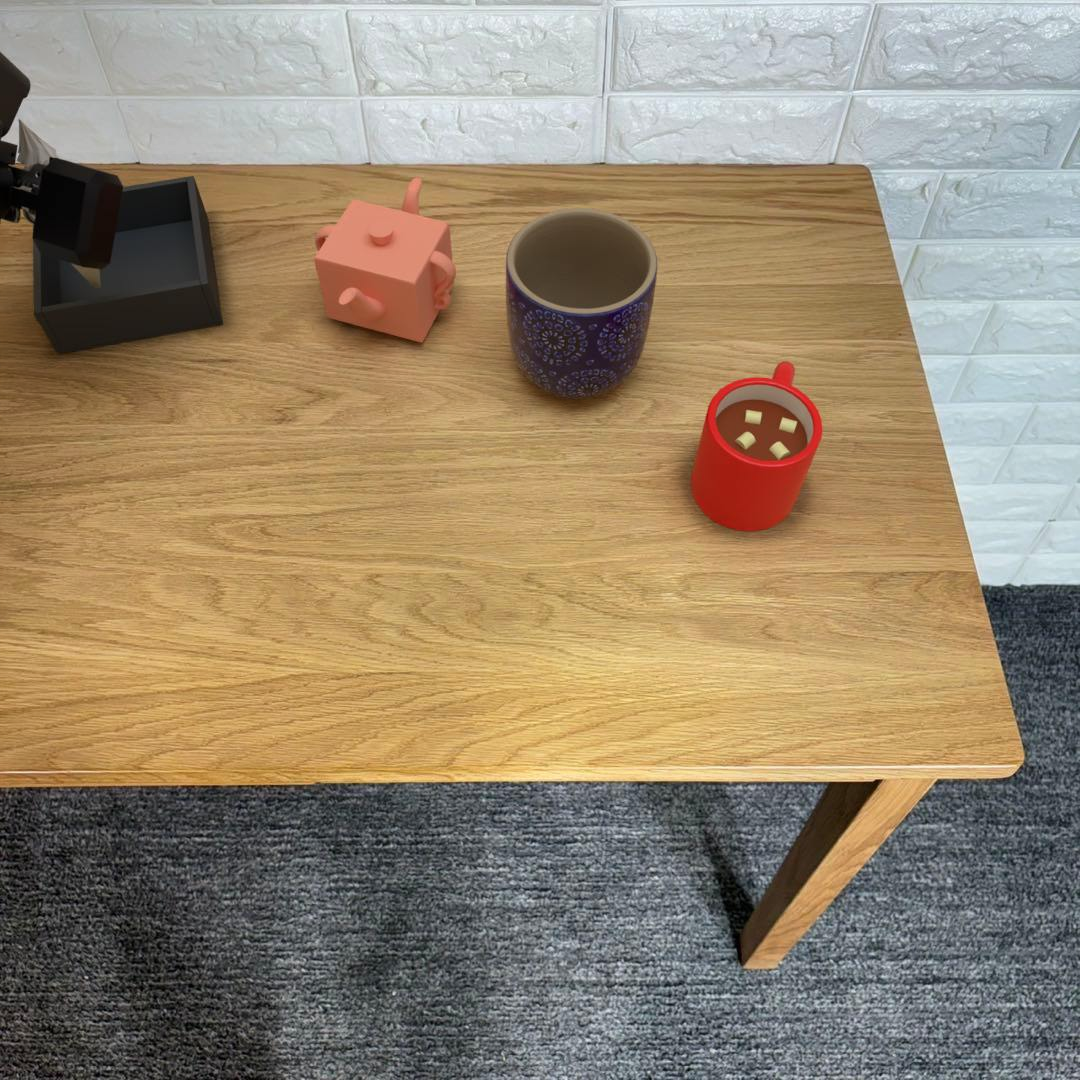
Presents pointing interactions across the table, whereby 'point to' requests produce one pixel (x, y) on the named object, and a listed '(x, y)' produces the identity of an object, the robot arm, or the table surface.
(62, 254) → the robot arm
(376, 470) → the table surface
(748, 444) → the mug
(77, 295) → the storage bin
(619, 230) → the planter
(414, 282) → the teapot
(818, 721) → the table surface
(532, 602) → the table surface
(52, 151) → the ice cream cone
